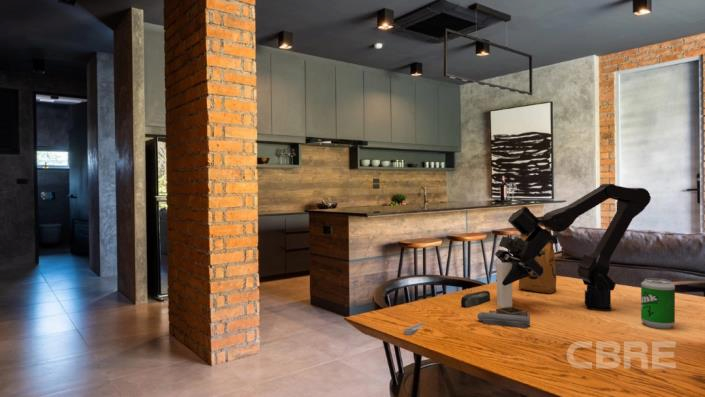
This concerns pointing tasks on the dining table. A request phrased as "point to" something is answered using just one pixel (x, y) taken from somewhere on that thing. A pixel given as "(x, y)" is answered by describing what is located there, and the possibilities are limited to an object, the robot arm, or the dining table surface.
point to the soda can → (658, 303)
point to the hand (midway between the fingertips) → (500, 283)
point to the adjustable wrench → (412, 329)
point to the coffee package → (548, 277)
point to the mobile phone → (475, 299)
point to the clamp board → (508, 311)
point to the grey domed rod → (504, 317)
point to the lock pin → (503, 291)
